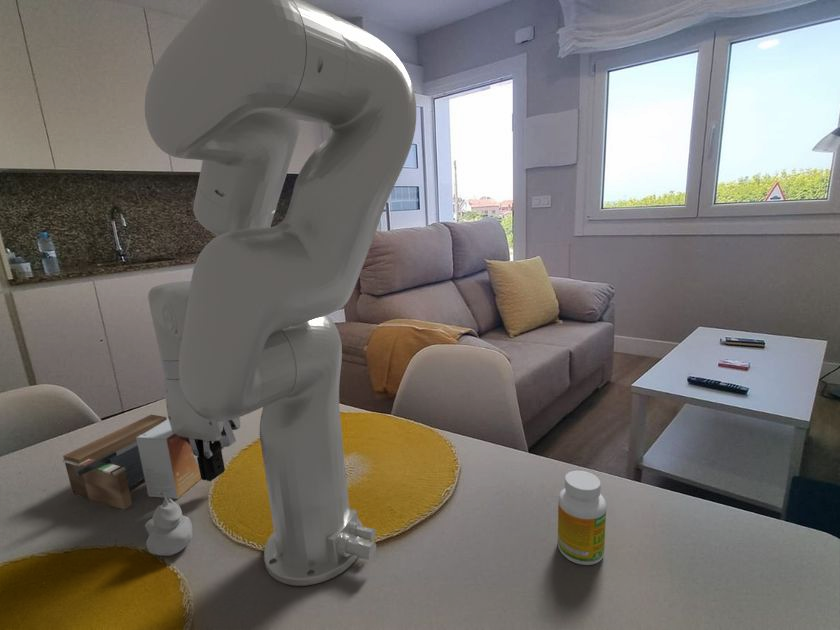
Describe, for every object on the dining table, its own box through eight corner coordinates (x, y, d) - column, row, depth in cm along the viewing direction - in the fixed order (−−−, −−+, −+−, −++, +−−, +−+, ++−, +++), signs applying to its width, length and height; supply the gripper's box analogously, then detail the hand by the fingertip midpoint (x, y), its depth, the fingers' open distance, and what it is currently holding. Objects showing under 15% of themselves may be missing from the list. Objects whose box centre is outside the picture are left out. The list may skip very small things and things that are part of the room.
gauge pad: (183, 454, 79) (177, 421, 78) (89, 510, 64) (79, 472, 63) (173, 451, 80) (166, 419, 79) (77, 507, 65) (67, 468, 64)
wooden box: (205, 457, 80) (199, 422, 78) (123, 510, 66) (113, 469, 64) (158, 447, 84) (151, 414, 83) (71, 495, 70) (61, 456, 69)
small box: (177, 500, 68) (165, 439, 65) (147, 497, 69) (134, 437, 66) (211, 471, 75) (201, 415, 73) (183, 469, 76) (173, 414, 74)
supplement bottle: (599, 573, 50) (602, 499, 48) (552, 556, 53) (553, 485, 50) (607, 543, 54) (610, 474, 52) (563, 528, 57) (565, 462, 55)
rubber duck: (173, 568, 54) (161, 512, 52) (134, 558, 56) (121, 504, 54) (206, 538, 59) (196, 486, 57) (169, 529, 61) (159, 479, 59)
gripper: (249, 359, 65) (267, 469, 69) (177, 355, 70) (198, 457, 74) (209, 376, 58) (232, 498, 62) (133, 370, 64) (158, 482, 67)
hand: (213, 475), depth 68 cm, fingers closed
